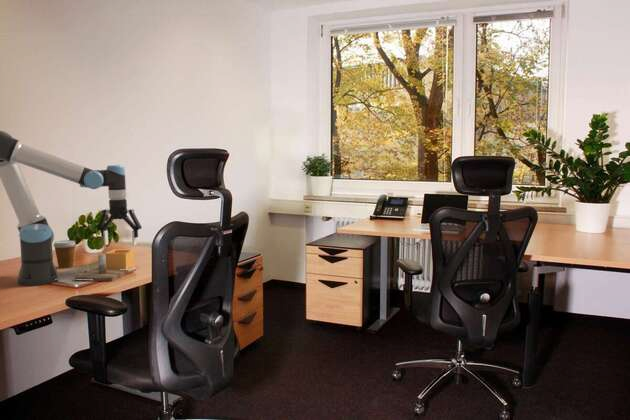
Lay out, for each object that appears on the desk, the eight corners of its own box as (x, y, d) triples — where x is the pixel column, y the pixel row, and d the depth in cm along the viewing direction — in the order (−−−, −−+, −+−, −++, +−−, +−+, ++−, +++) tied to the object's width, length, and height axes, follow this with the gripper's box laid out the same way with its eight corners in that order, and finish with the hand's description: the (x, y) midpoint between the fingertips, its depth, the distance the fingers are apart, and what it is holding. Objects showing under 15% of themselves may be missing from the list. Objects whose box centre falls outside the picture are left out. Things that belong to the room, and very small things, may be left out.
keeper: (111, 281, 225) (111, 258, 224) (75, 280, 227) (74, 258, 226) (128, 272, 241) (127, 251, 240) (94, 272, 243) (93, 251, 242)
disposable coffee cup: (68, 269, 249) (67, 243, 248) (50, 268, 251) (48, 243, 250) (81, 265, 258) (80, 240, 257) (63, 264, 260) (62, 239, 259)
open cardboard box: (126, 270, 245) (125, 253, 245) (105, 270, 246) (104, 253, 246) (135, 266, 255) (134, 249, 254) (115, 266, 256) (114, 249, 255)
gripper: (147, 197, 250) (149, 243, 252) (95, 198, 252) (98, 243, 255) (140, 199, 243) (143, 246, 245) (87, 200, 245) (90, 246, 247)
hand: (120, 244), depth 250 cm, fingers open, 13 cm apart
